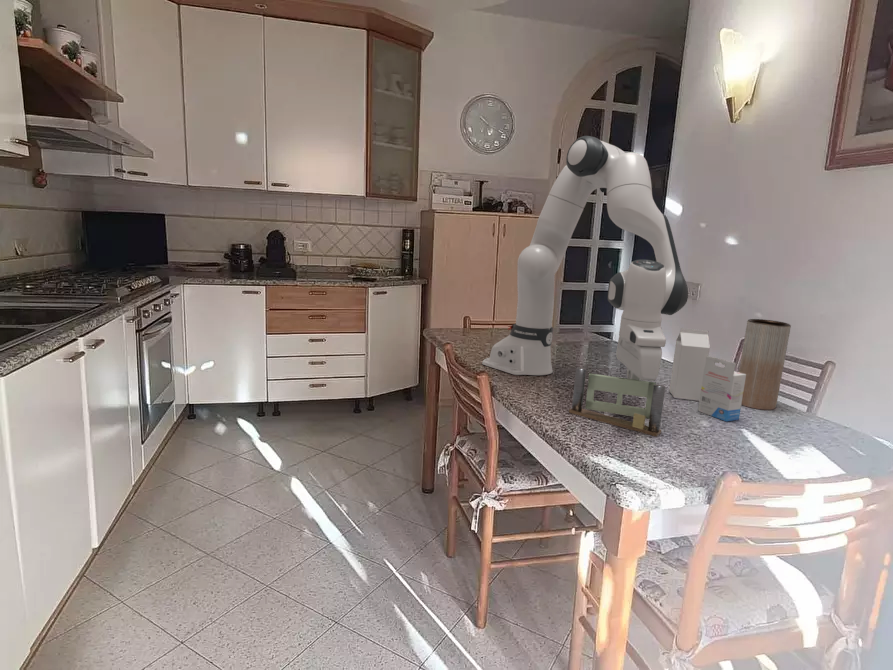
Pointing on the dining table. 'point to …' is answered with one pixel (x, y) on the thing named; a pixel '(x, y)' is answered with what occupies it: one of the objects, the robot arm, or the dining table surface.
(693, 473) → the dining table surface
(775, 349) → the planter
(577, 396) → the drawknife
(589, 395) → the gate
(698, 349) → the milk carton
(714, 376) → the ink box
